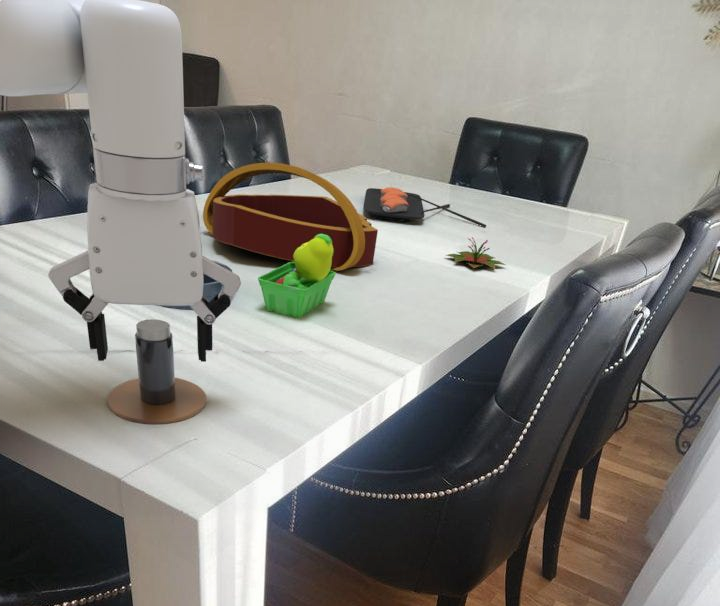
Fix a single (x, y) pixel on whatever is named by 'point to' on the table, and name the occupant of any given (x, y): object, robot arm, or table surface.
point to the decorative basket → (288, 219)
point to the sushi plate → (400, 205)
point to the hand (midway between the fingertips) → (153, 355)
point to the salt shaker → (155, 362)
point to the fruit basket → (300, 279)
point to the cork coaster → (132, 408)
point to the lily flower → (476, 257)
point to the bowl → (207, 288)
